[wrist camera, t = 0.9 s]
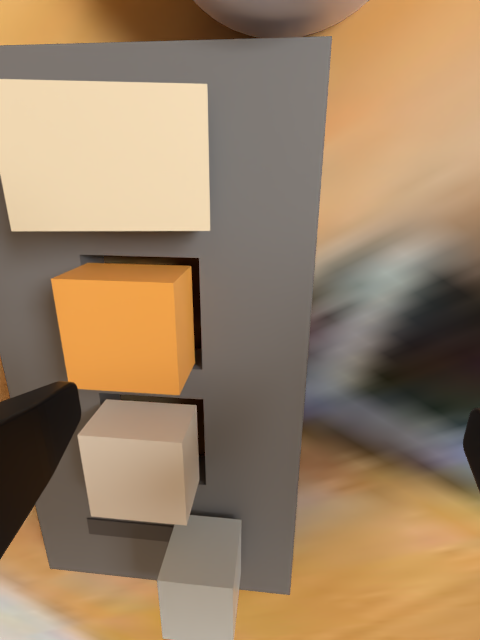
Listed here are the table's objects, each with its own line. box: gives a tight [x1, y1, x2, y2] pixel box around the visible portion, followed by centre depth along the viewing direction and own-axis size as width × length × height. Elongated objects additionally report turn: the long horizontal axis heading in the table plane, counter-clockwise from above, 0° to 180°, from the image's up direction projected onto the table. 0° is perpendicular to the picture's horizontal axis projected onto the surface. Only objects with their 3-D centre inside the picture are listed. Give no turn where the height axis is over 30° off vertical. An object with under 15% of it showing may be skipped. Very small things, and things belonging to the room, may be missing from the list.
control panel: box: [0, 36, 332, 595], centre depth 17 cm, size 13×24×3 cm, turn 0°
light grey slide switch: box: [157, 515, 241, 640], centre depth 17 cm, size 3×4×3 cm
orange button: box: [51, 263, 195, 395], centre depth 14 cm, size 4×4×2 cm
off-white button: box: [77, 399, 199, 526], centre depth 16 cm, size 4×4×2 cm
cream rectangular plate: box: [0, 79, 210, 231], centre depth 12 cm, size 6×4×1 cm, turn 90°
